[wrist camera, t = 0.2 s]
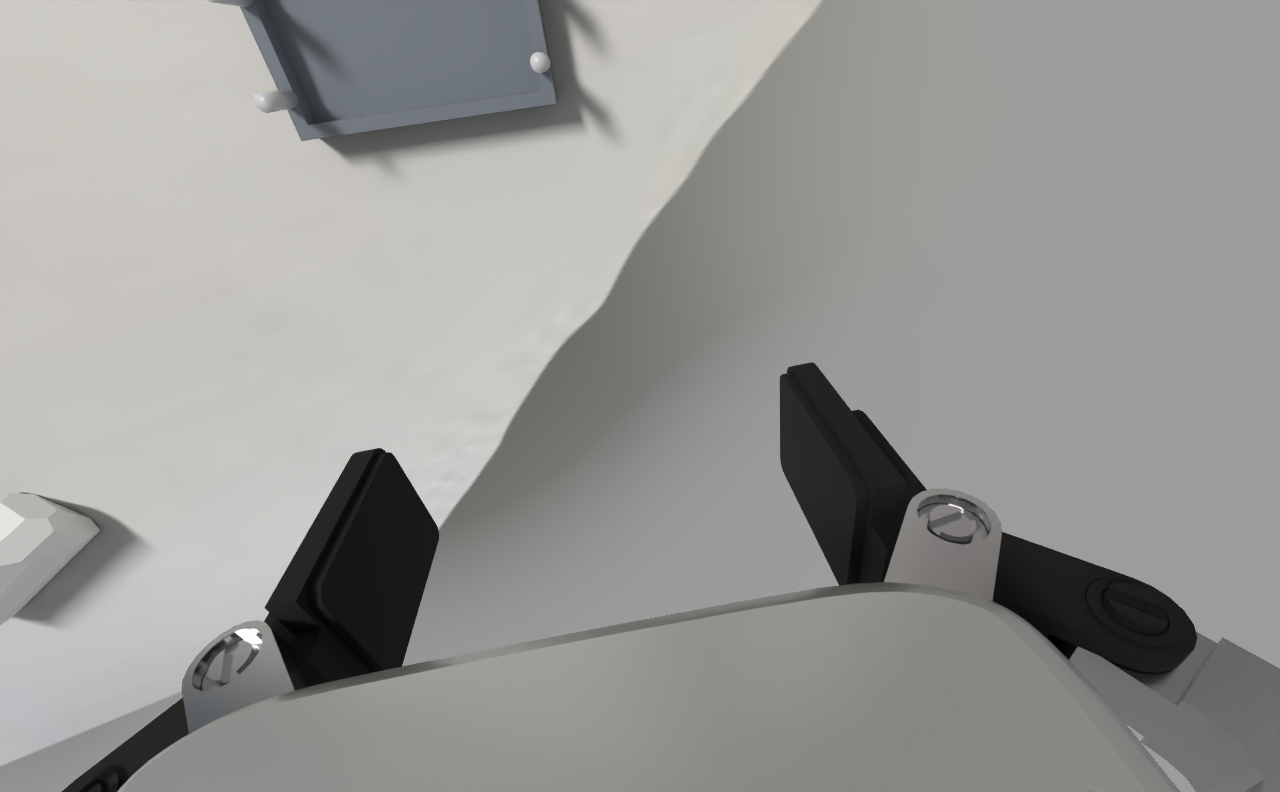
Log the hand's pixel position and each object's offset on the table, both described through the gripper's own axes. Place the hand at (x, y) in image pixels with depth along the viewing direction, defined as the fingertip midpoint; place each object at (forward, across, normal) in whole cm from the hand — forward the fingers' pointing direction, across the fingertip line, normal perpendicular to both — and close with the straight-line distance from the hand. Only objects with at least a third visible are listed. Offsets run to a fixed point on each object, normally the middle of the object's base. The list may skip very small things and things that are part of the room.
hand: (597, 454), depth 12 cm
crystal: (+31, +66, +24) cm, 77 cm away
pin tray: (+31, +9, -11) cm, 34 cm away
